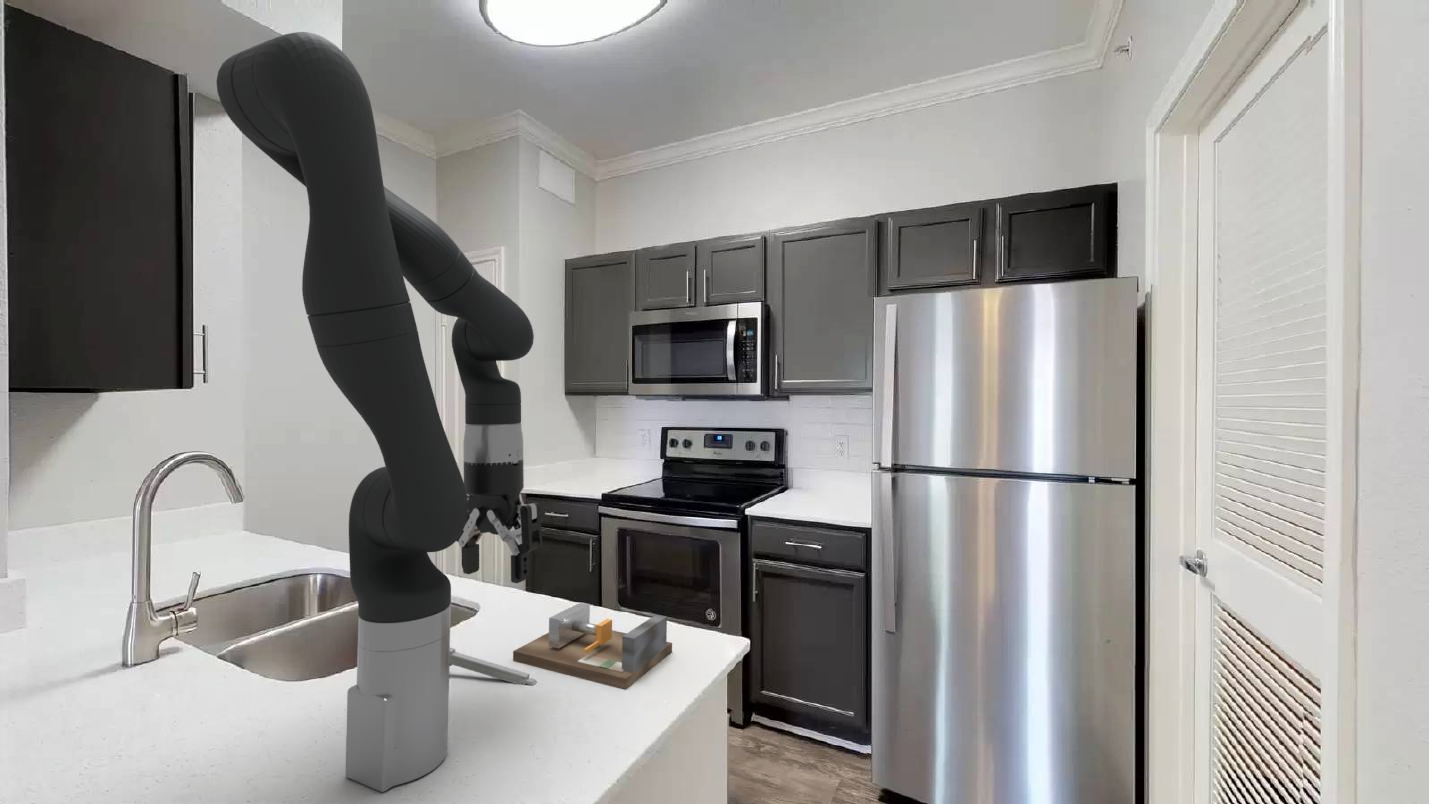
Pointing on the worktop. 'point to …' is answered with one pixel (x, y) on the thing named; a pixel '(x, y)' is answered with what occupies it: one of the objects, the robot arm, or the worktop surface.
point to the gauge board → (603, 654)
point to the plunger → (570, 625)
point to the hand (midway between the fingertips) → (494, 576)
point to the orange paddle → (601, 634)
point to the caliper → (489, 668)
